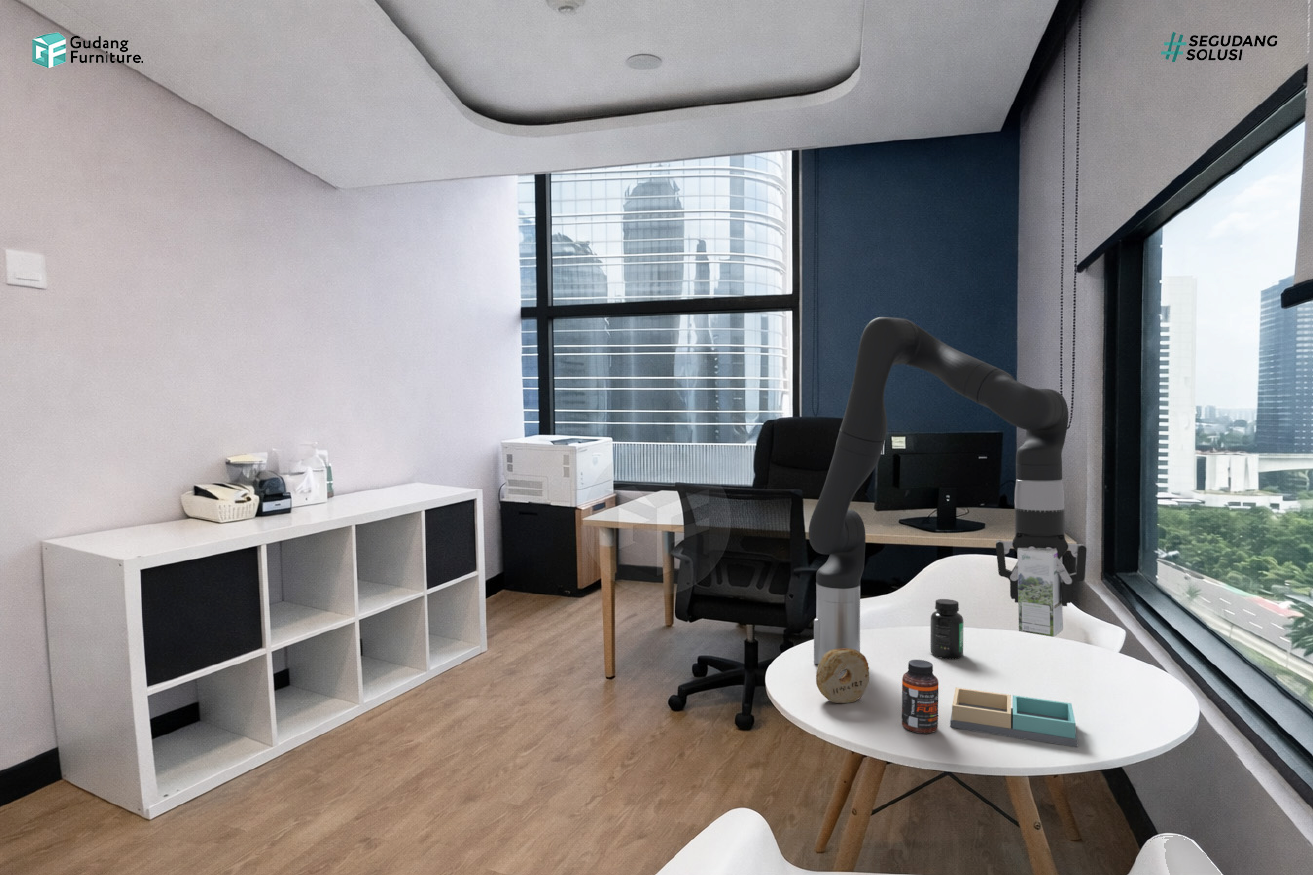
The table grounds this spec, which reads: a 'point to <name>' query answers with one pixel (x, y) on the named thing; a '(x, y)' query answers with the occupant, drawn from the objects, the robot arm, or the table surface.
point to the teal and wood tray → (1014, 716)
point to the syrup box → (1039, 592)
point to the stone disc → (850, 683)
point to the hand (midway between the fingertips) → (1040, 603)
